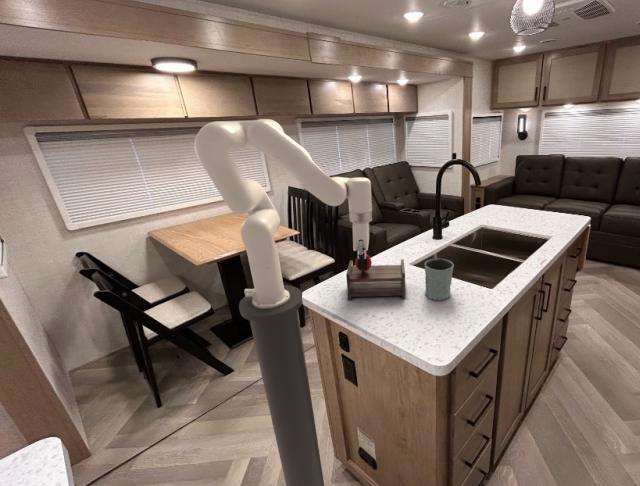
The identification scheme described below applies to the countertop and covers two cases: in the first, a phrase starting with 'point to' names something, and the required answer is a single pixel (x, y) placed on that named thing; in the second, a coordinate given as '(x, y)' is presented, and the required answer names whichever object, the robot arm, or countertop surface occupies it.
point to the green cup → (438, 278)
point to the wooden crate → (376, 281)
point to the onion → (367, 263)
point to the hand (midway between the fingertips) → (363, 264)
